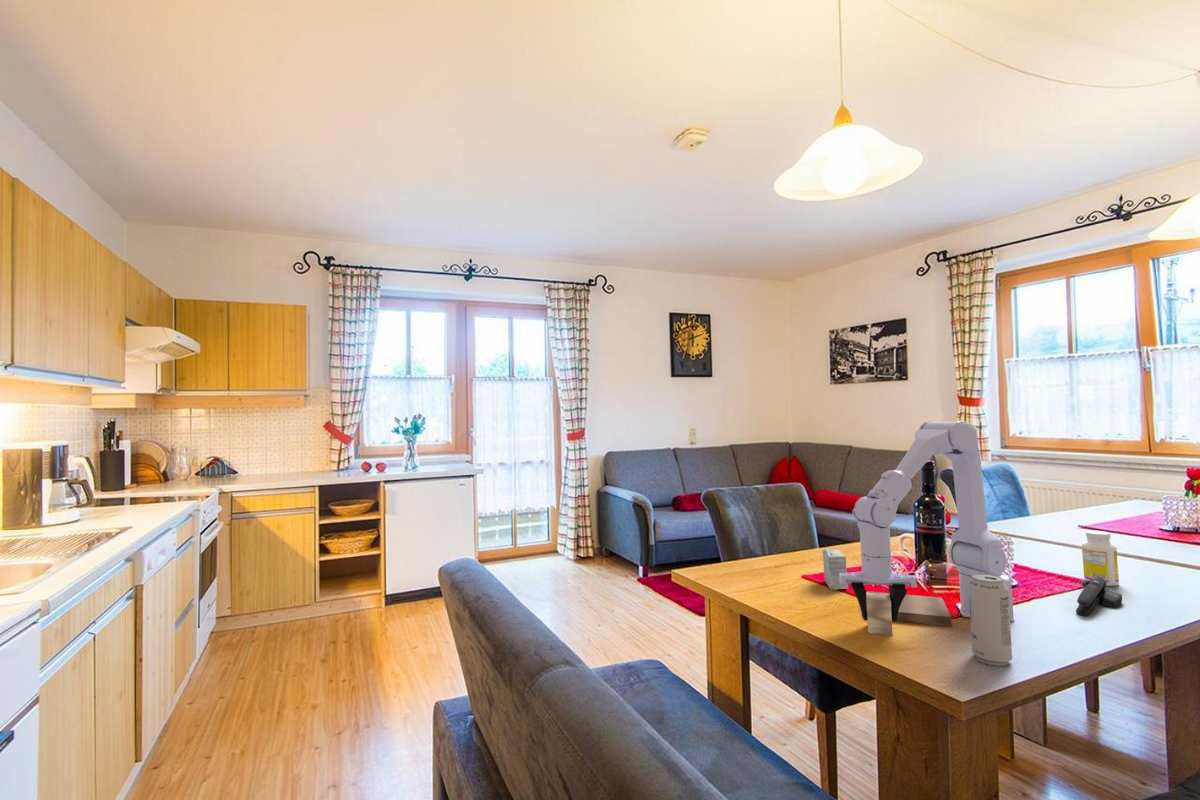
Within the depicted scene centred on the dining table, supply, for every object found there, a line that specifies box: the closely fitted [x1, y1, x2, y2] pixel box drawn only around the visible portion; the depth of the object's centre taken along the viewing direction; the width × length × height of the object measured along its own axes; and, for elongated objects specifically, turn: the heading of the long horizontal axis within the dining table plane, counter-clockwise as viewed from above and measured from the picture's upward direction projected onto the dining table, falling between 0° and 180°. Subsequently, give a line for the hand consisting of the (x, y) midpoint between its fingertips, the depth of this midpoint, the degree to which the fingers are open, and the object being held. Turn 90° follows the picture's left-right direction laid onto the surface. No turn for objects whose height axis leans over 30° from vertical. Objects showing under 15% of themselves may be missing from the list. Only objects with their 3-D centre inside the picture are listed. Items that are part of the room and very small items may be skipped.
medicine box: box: [822, 549, 849, 591], centre depth 148 cm, size 8×4×9 cm, turn 168°
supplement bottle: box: [1081, 530, 1120, 587], centre depth 142 cm, size 7×7×13 cm
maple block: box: [866, 591, 894, 636], centre depth 118 cm, size 4×4×7 cm
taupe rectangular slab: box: [866, 590, 953, 627], centre depth 127 cm, size 16×13×2 cm
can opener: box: [1075, 577, 1123, 617], centre depth 126 cm, size 18×7×6 cm, turn 124°
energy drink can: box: [968, 574, 1013, 667], centre depth 102 cm, size 6×6×15 cm
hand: (879, 619), depth 117 cm, fingers closed on maple block, 5 cm apart
